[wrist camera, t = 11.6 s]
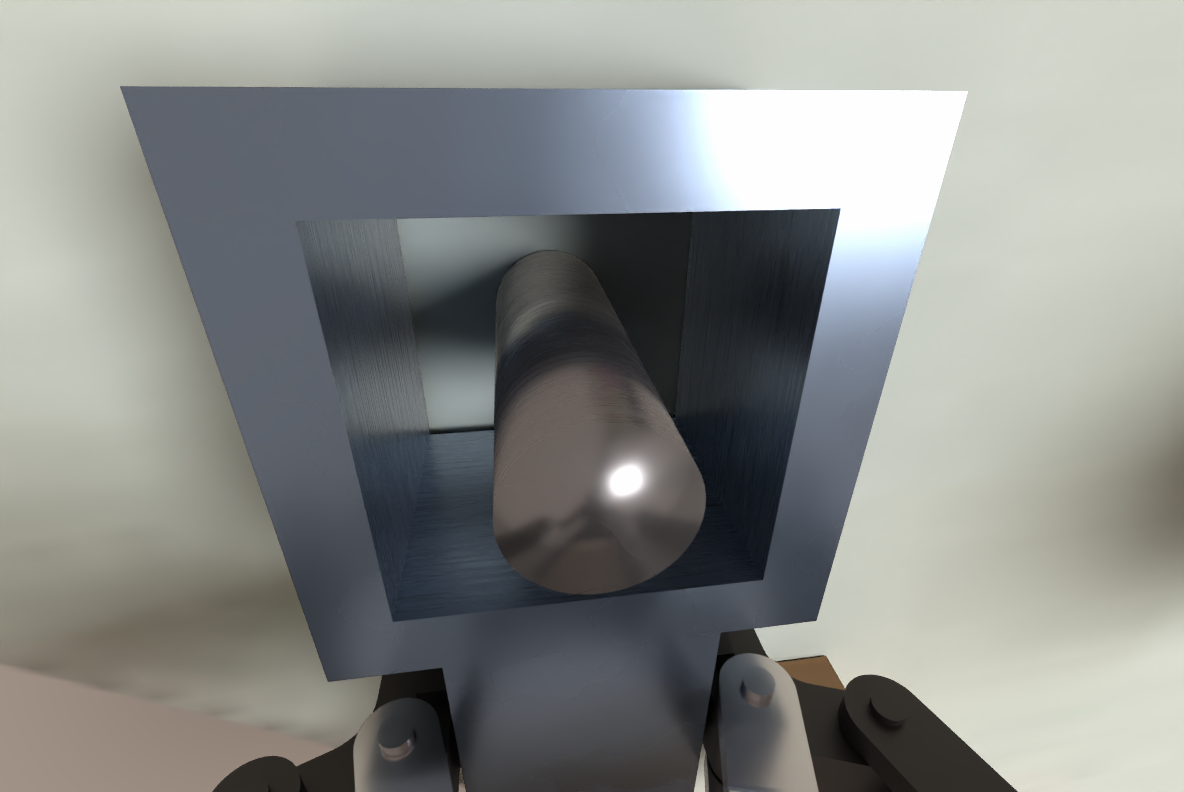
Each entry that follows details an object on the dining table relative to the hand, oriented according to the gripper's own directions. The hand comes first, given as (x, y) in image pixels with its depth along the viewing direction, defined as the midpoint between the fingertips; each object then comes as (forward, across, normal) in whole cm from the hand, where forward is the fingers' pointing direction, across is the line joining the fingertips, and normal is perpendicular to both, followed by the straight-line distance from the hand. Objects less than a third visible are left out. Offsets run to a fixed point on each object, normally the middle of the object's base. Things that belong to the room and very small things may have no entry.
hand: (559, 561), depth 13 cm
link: (0, 0, 0) cm, 0 cm away
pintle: (+1, 0, -6) cm, 6 cm away
